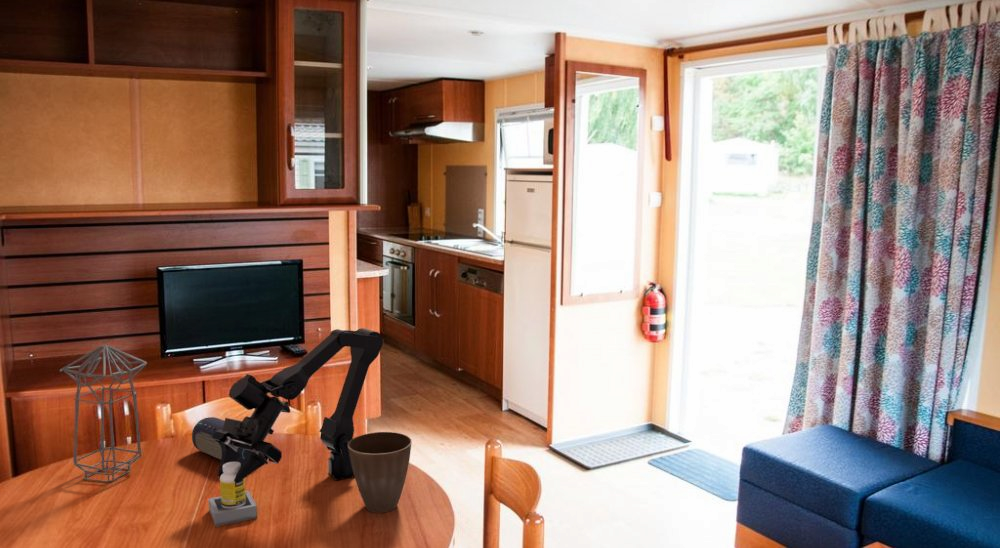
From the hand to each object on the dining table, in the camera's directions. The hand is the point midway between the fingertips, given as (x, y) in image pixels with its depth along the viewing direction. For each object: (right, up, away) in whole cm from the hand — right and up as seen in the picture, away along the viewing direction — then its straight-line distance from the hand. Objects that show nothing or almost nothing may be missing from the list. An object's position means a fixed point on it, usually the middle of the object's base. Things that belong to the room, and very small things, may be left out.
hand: (227, 479), depth 179 cm
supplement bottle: (+1, -7, +2) cm, 7 cm away
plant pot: (+34, -8, +7) cm, 36 cm away
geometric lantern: (-39, -6, +25) cm, 47 cm away
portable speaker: (-13, -4, +37) cm, 40 cm away
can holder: (+1, -9, +2) cm, 9 cm away
